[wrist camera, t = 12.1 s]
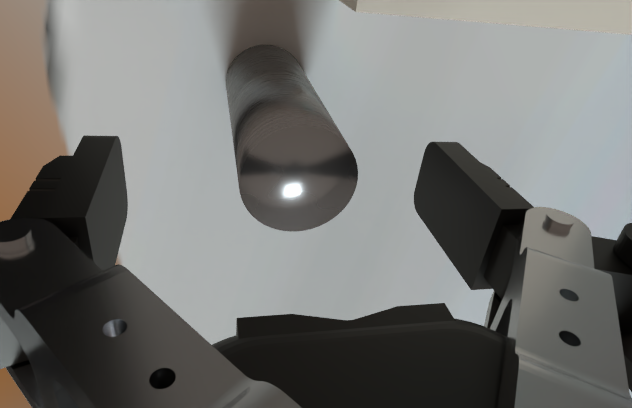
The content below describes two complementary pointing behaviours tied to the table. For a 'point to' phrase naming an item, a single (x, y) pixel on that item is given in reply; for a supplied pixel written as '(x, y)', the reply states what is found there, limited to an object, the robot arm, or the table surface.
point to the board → (513, 12)
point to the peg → (286, 143)
